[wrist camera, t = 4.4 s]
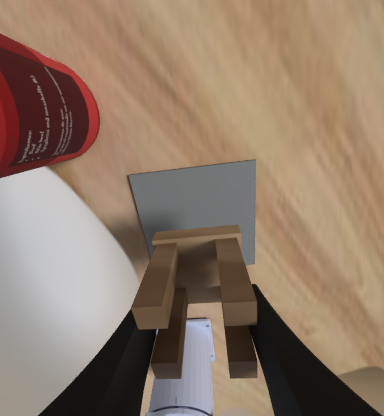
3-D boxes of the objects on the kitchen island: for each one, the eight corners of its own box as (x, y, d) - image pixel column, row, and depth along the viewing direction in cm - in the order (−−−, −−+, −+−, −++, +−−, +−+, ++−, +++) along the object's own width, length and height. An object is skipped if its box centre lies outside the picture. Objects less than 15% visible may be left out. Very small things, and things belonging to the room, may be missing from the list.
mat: (253, 261, 22) (254, 264, 22) (154, 270, 23) (154, 272, 23) (254, 159, 17) (255, 160, 17) (130, 174, 18) (128, 175, 18)
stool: (240, 288, 15) (263, 381, 10) (170, 292, 16) (151, 382, 10) (237, 224, 13) (264, 295, 8) (155, 232, 14) (122, 303, 8)
